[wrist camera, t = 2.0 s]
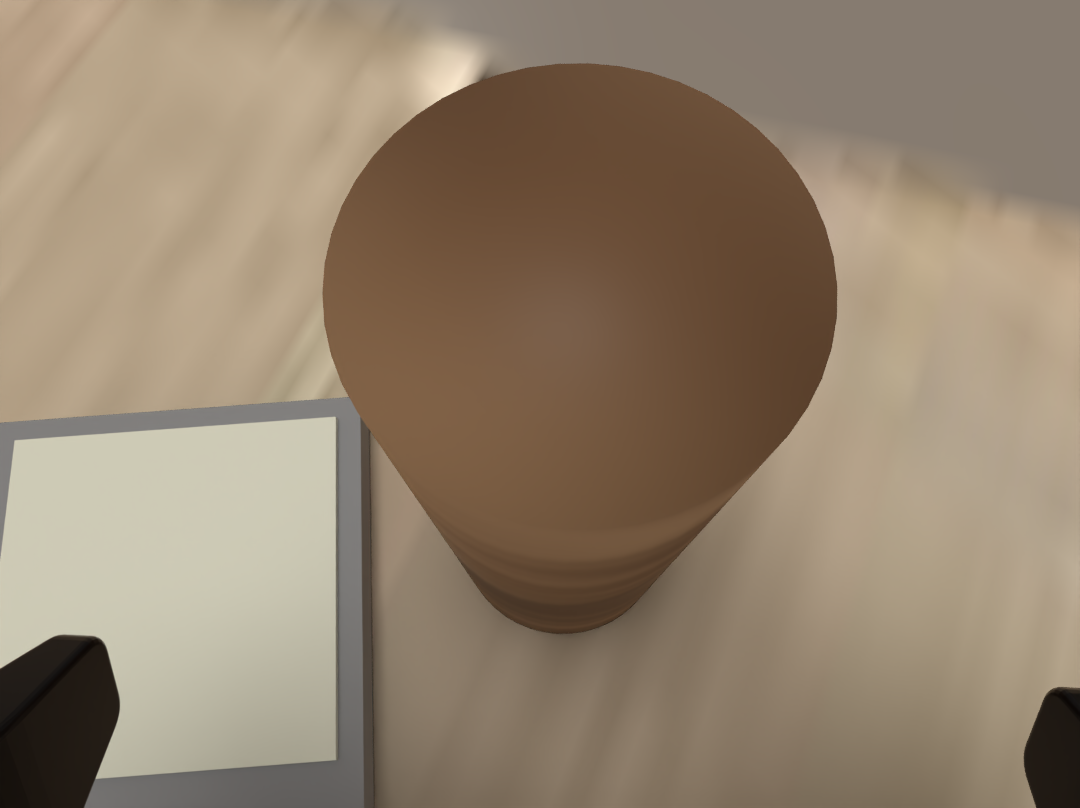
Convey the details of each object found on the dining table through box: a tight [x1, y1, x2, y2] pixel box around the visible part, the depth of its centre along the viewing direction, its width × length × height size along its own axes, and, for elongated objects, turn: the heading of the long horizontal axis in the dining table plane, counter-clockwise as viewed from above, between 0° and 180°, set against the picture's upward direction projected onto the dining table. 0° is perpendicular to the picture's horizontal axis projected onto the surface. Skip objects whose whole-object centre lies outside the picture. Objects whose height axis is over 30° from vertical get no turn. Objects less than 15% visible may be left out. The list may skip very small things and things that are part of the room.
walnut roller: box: [323, 64, 837, 634], centre depth 14 cm, size 4×4×12 cm
